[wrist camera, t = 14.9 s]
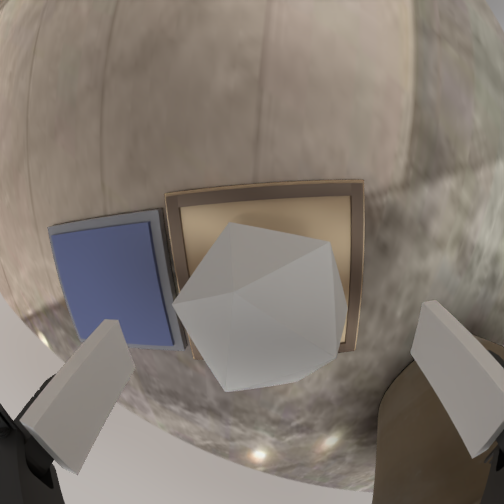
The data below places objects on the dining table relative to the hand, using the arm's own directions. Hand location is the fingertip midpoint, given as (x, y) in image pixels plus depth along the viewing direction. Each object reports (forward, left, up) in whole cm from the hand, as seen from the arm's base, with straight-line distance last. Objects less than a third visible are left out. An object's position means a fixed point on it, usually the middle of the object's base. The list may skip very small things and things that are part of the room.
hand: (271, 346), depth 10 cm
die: (0, 0, -8) cm, 8 cm away
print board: (0, 0, -9) cm, 9 cm away
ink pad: (0, -12, -9) cm, 15 cm away
